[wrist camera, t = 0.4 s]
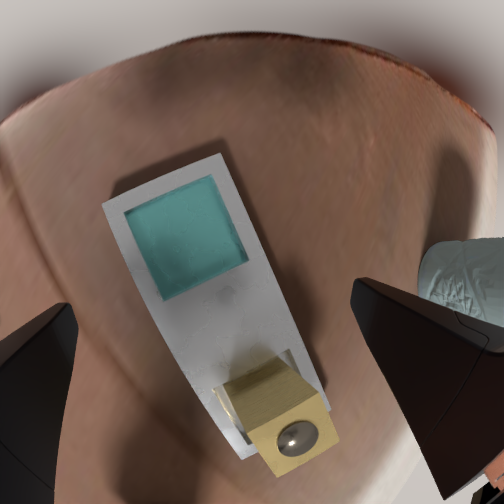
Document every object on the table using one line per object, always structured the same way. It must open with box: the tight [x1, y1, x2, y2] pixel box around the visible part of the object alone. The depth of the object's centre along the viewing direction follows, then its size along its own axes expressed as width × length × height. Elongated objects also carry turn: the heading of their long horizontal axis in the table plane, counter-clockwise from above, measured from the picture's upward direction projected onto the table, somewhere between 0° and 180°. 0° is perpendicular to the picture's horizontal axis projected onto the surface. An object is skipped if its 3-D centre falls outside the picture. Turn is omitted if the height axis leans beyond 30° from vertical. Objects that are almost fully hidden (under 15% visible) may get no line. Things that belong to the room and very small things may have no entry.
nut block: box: [223, 357, 340, 478], centre depth 20 cm, size 5×5×7 cm
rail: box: [102, 153, 331, 460], centre depth 22 cm, size 23×9×2 cm, turn 25°
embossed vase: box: [418, 237, 504, 327], centre depth 24 cm, size 10×10×12 cm
